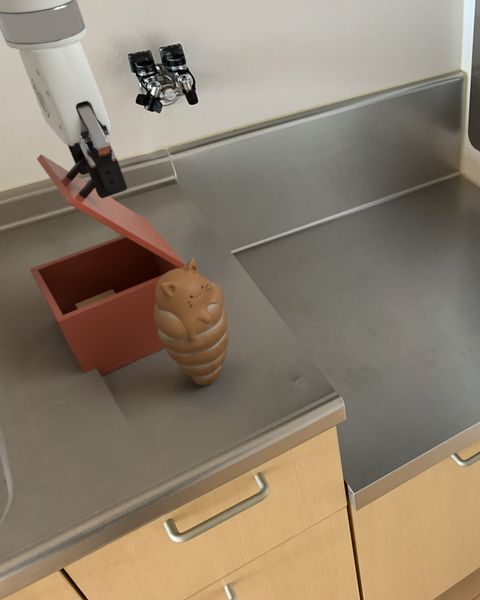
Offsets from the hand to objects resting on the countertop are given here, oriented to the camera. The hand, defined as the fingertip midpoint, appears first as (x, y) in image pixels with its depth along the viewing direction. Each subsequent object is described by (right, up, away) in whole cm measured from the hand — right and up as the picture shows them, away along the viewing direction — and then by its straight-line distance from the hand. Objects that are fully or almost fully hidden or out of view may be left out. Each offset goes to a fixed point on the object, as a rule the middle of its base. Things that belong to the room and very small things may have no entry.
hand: (102, 180), depth 72 cm
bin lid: (0, -4, +3) cm, 5 cm away
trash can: (-3, -18, +14) cm, 23 cm away
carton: (-5, -19, +12) cm, 23 cm away
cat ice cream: (+11, -24, +7) cm, 27 cm away
